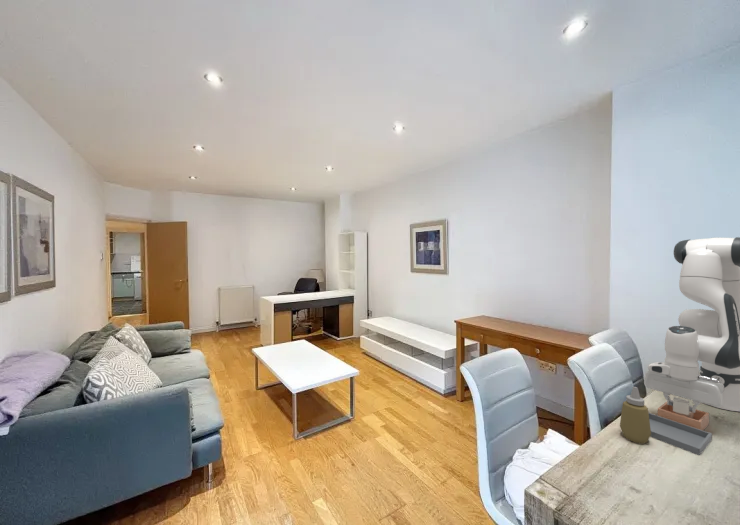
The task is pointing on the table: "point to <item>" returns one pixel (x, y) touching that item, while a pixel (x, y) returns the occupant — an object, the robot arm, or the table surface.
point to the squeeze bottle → (635, 418)
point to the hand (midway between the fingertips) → (680, 408)
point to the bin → (698, 422)
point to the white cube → (691, 415)
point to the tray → (679, 434)
